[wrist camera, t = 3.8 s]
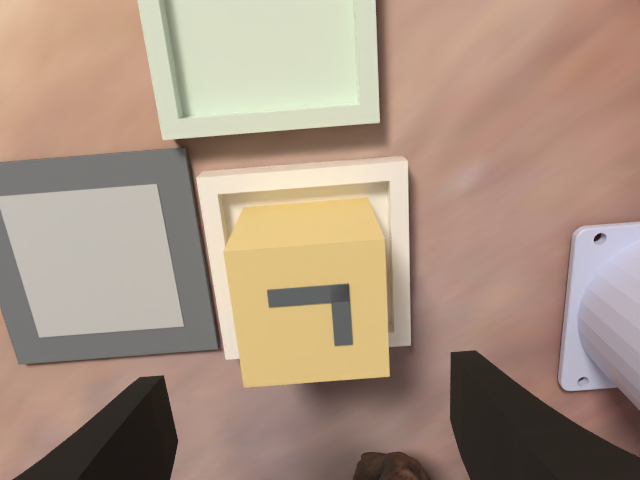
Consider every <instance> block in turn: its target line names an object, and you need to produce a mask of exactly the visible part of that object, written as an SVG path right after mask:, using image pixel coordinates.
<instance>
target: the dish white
mask: <svg viewBox="0 0 640 480" xmlns="http://www.w3.org/2000/svg"><path fill="white" fill-rule="evenodd" d="M196 179H197V185H198V192H199V198H200V204H201V210H202V216H203V222H204V228H205V235H206V241H207V247H208V253H209V259H210V265H211V271H212V278H213V284H214V290H215V296H216V302H217V308H218V315H219V321H220V327H221V333H222V339H223V345H224V351H225V358H226V360H228V359H239V352H238V346H237V339H236V332H235V326H234V319H233V313H232V306H231V300H230V293H229V286H228V280H227V273H226V267H225V260H224V253H223V251H224V249H225V247H226V244H227V242H228V240H229V238H230V236H231V234H232V231H233V229H234V227H235V225H236V223H237V220H238V218H239V216H240V214H241V212H242V209H243V207H251V206H264V205H277V204H289V203H302V202H315V201H327V200H340V199H353V198H366V197H368V200H369V202H370V205H371V207H372V209H373V212H374V214H375V216H376V219H377V221H378V224H379V226H380V228H381V231H382V233H383V235H384V238H385V254H386V283H387V312H388V341H389V347H398V346H411V318H410V260H409V202H408V161H407V160H406V159H405V158H404V157H403V156H389V157H376V158H364V159H351V160H339V161H326V162H314V163H301V164H288V165H276V166H263V167H251V168H238V169H225V170H213V171H203V172H202V173H201V174H200V175H199V176H198V177H197V178H196Z"/></svg>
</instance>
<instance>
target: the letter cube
mask: <svg viewBox="0 0 640 480" xmlns="http://www.w3.org/2000/svg"><path fill="white" fill-rule="evenodd" d="M223 253H224V260H225V267H226V273H227V280H228V286H229V293H230V300H231V306H232V313H233V319H234V326H235V332H236V339H237V346H238V352H239V359H240V365H241V372H242V379H243V385H244V388H246V387H259V386H272V385H285V384H298V383H312V382H325V381H338V380H351V379H364V378H378V377H390V370H389V341H388V312H387V283H386V254H385V238H384V235H383V233H382V231H381V228H380V226H379V224H378V221H377V219H376V216H375V214H374V212H373V209H372V207H371V205H370V202H369V200H368V197H366V198H353V199H340V200H327V201H315V202H302V203H289V204H277V205H264V206H251V207H243V209H242V212H241V214H240V216H239V218H238V220H237V223H236V225H235V227H234V229H233V231H232V234H231V236H230V238H229V240H228V242H227V244H226V247H225V249H224V251H223Z"/></svg>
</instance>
